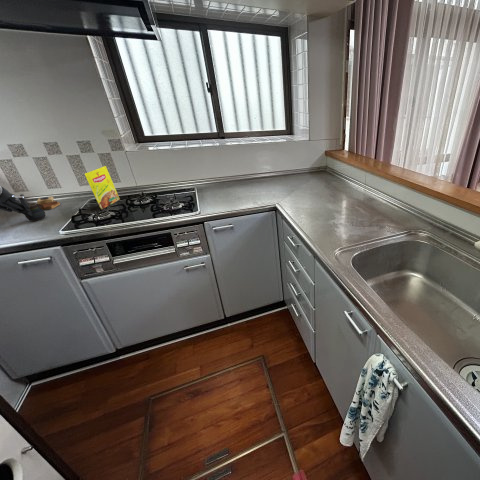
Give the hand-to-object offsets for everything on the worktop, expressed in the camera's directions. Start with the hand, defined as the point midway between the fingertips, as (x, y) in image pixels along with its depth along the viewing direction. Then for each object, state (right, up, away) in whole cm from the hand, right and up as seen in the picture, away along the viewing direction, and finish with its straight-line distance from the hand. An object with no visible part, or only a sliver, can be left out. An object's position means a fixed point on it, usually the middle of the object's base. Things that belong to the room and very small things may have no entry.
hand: (30, 214), depth 131 cm
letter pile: (-10, +6, +19) cm, 23 cm away
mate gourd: (-2, -2, +6) cm, 6 cm away
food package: (+23, +8, +22) cm, 32 cm away
